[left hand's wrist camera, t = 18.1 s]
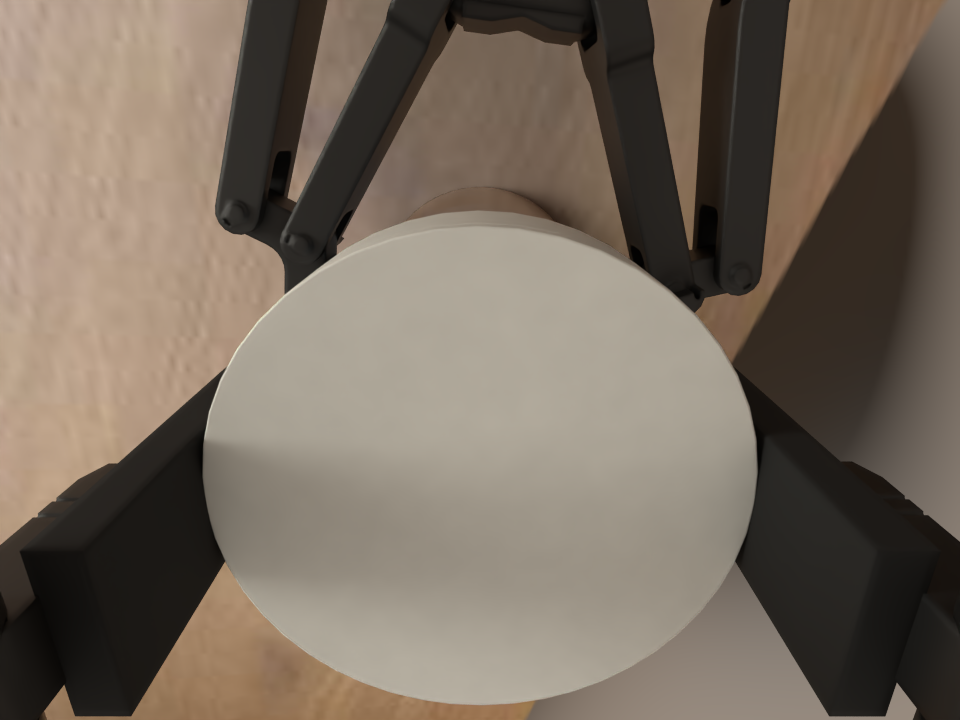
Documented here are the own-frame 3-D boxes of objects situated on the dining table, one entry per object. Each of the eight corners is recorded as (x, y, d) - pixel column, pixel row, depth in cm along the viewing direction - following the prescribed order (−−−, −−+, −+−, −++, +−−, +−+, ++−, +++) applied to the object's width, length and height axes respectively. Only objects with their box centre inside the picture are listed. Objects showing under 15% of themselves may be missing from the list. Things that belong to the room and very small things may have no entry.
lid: (811, 365, 11) (879, 411, 9) (553, 680, 14) (565, 765, 12) (372, 104, 10) (344, 94, 8) (181, 520, 13) (127, 589, 11)
